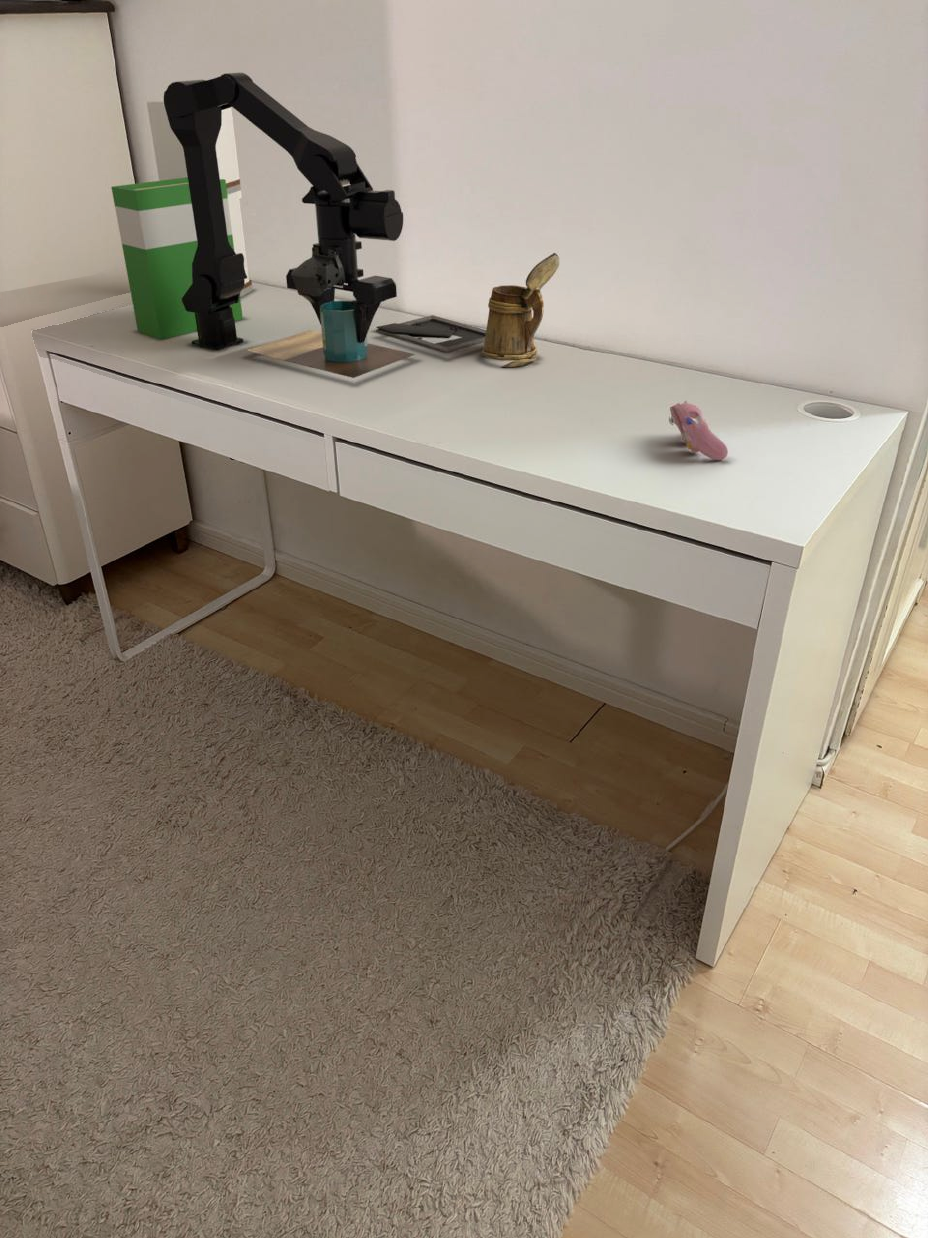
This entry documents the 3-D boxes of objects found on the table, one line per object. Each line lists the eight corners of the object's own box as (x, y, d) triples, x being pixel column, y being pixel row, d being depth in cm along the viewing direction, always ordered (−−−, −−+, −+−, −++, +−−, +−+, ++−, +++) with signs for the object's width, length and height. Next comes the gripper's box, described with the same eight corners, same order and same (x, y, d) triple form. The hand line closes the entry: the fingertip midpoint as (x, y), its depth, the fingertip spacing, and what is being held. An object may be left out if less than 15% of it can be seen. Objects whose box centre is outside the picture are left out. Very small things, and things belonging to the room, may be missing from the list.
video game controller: (677, 445, 129) (659, 401, 125) (708, 429, 128) (691, 385, 125) (698, 474, 121) (679, 428, 117) (732, 458, 120) (714, 411, 116)
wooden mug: (531, 377, 148) (535, 257, 139) (470, 359, 157) (470, 244, 147) (567, 365, 154) (574, 248, 144) (507, 347, 162) (509, 236, 152)
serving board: (246, 357, 158) (245, 350, 157) (310, 336, 168) (309, 329, 167) (354, 385, 146) (353, 377, 145) (415, 361, 156) (415, 353, 155)
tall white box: (252, 290, 197) (230, 98, 178) (230, 302, 188) (204, 102, 169) (202, 287, 199) (174, 97, 180) (177, 299, 190) (146, 101, 172)
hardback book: (219, 312, 182) (200, 175, 169) (242, 319, 178) (225, 179, 165) (137, 331, 171) (111, 186, 158) (160, 339, 167) (135, 191, 154)
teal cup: (315, 357, 154) (311, 306, 149) (344, 347, 158) (341, 298, 154) (347, 364, 150) (343, 313, 146) (375, 354, 155) (373, 304, 151)
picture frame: (376, 337, 167) (446, 360, 156) (376, 326, 166) (446, 347, 155) (432, 323, 175) (502, 343, 164) (432, 312, 174) (503, 332, 163)
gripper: (255, 237, 144) (267, 340, 152) (345, 251, 134) (353, 360, 143) (307, 226, 151) (316, 325, 160) (396, 239, 142) (401, 343, 150)
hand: (344, 338), depth 153 cm, fingers closed on teal cup, 7 cm apart
